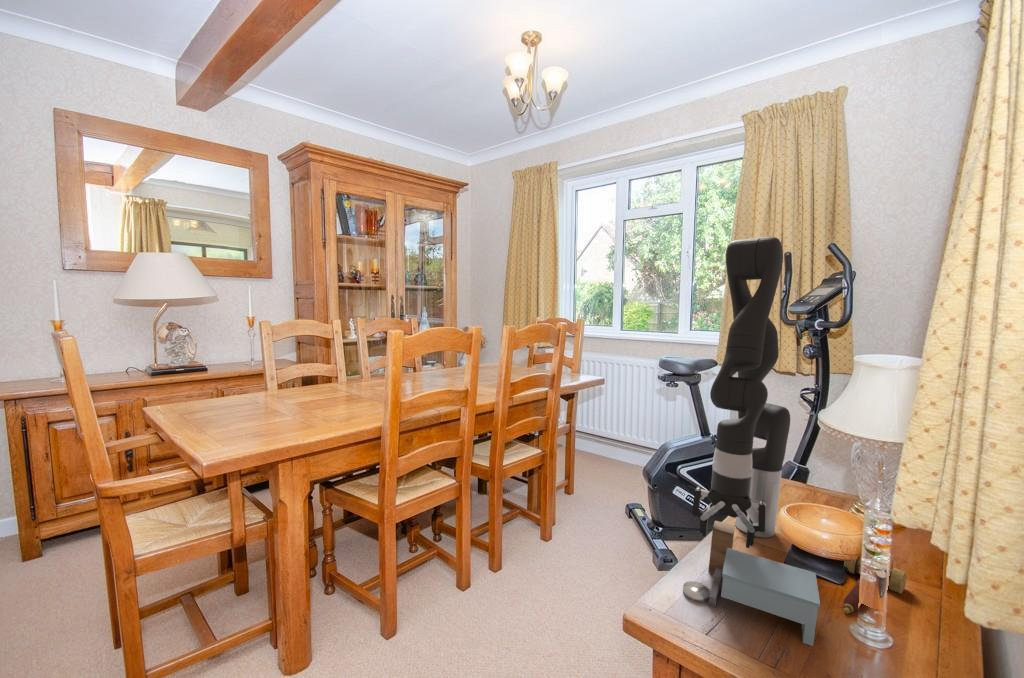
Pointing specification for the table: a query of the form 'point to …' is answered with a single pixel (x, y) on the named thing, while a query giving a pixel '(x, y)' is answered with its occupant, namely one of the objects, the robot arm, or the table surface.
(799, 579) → the plinth shelf
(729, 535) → the wood grain block
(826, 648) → the table surface
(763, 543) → the table surface
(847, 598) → the gavel
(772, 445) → the robot arm
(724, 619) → the table surface
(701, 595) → the silver metal disc
